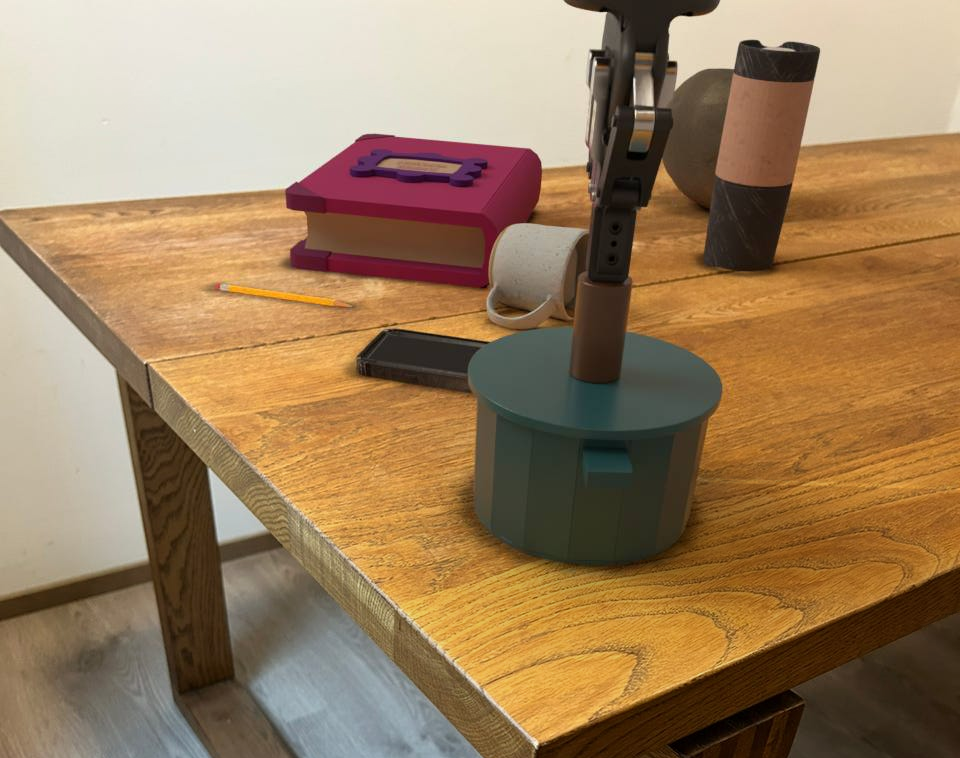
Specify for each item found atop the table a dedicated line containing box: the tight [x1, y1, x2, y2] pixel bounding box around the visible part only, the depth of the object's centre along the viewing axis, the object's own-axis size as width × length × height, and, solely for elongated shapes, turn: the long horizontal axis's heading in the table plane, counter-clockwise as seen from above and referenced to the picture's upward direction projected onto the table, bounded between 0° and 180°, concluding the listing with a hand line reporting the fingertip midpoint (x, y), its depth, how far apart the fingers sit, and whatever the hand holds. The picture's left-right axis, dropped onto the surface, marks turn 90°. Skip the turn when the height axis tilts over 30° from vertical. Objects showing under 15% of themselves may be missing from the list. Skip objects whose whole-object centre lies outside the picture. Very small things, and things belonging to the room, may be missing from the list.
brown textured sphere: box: [661, 67, 734, 210], centre depth 117 cm, size 14×14×15 cm
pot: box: [472, 398, 710, 566], centre depth 61 cm, size 14×19×8 cm
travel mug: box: [702, 39, 821, 272], centre depth 98 cm, size 8×8×20 cm
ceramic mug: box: [485, 222, 589, 330], centre depth 88 cm, size 11×8×8 cm
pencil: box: [214, 283, 353, 308], centre depth 91 cm, size 1×13×1 cm, turn 74°
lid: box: [468, 271, 723, 440], centre depth 57 cm, size 15×15×7 cm
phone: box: [355, 327, 491, 394], centre depth 80 cm, size 8×1×15 cm
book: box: [284, 133, 543, 289], centre depth 105 cm, size 21×28×8 cm
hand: (605, 277), depth 55 cm, fingers closed
